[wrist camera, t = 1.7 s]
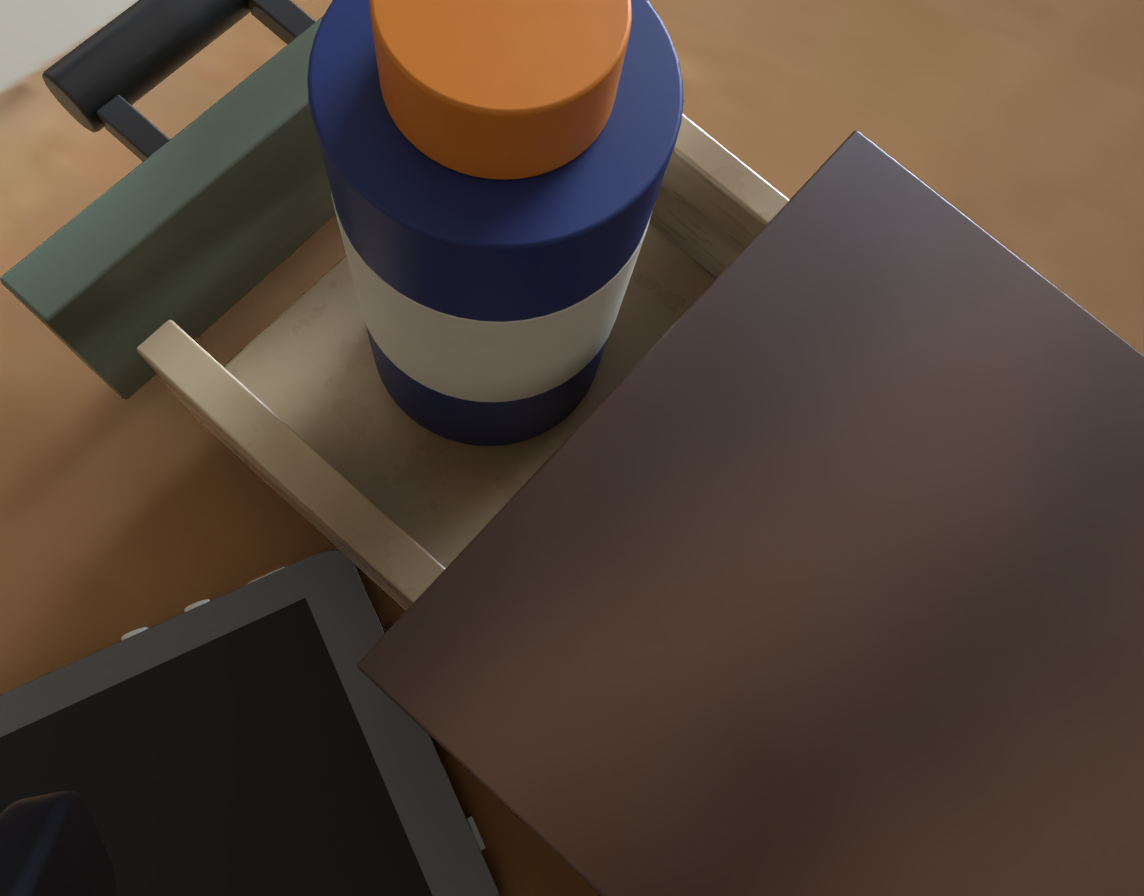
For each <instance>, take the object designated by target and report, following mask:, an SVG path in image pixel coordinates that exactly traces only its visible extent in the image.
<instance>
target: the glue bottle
mask: <svg viewBox="0 0 1144 896" xmlns="http://www.w3.org/2000/svg"><path fill="white" fill-rule="evenodd" d="M307 84H308V98H309V105H310V109H311V114H312V118H313V122H314V126H315V130H316V134H317V138H318V142H319V146H320V150H321V154H322V157H323V161H324V165H325V169H326V173H327V177H328V181H329V185H330V189H331V196H332V200H333V205H334V209H335V214H336V217H337V221H338V225H339V229H340V233H341V237H342V240H343V244H344V248H345V252H346V256H347V260H348V264H349V267H350V271H351V275H352V279H353V283H354V287H355V290H356V294H357V298H358V302H359V306H360V310H361V313H362V315H363V318H364V321H365V325H366V328H367V332H368V336H369V340H370V344H371V348H372V352H373V356H374V360H375V363H376V367H377V370H378V372H379V375H380V378H381V380H382V382H383V384H384V386H385V388H386V389H387V391H388V393H389V394H390V396H391V397H392V398H393V400H394V401H395V402H396V404H397V405H398V406H399V407H400V408H401V409H402V410H403V411H404V412H405V413H406V414H407V415H408V416H409V417H410V418H412V419H413V420H414V421H415V422H417V423H418V424H419V425H421V426H422V427H424V428H426V429H428V430H429V431H431V432H433V433H435V434H437V435H439V436H442V437H444V438H446V439H450V440H453V441H457V442H460V443H465V444H471V445H479V446H497V445H507V444H512V443H516V442H521V441H525V440H527V439H530V438H533V437H535V436H538V435H540V434H542V433H544V432H546V431H547V430H549V429H551V428H553V427H554V426H555V425H557V424H558V423H560V422H561V421H563V420H564V419H565V418H566V417H567V416H568V415H569V414H570V413H571V412H572V411H573V410H574V409H575V408H576V407H577V406H578V404H579V403H580V402H581V401H582V399H583V398H584V396H585V395H586V393H587V391H588V390H589V388H590V386H591V384H592V382H593V379H594V377H595V375H596V372H597V369H598V366H599V363H600V360H601V358H602V355H603V352H604V349H605V346H606V343H607V340H608V337H609V334H610V332H611V330H612V327H613V325H614V323H615V320H616V318H617V315H618V312H619V309H620V306H621V303H622V300H623V298H624V295H625V292H626V289H627V286H628V283H629V280H630V277H631V275H632V272H633V269H634V266H635V263H636V260H637V257H638V255H639V252H640V249H641V246H642V243H643V240H644V237H645V235H646V232H647V229H648V225H649V222H650V218H651V214H652V211H653V207H654V205H655V202H656V199H657V196H658V193H659V190H660V187H661V184H662V181H663V179H664V176H665V173H666V170H667V167H668V164H669V161H670V158H671V155H672V153H673V150H674V147H675V144H676V140H677V137H678V133H679V129H680V126H681V120H682V111H683V81H682V76H681V70H680V65H679V60H678V57H677V54H676V52H675V49H674V46H673V43H672V40H671V38H670V36H669V34H668V32H667V30H666V28H665V26H664V24H663V22H662V20H661V19H660V17H659V16H658V14H657V13H656V11H655V10H654V8H653V7H652V5H651V4H650V2H649V1H648V0H333V1H332V3H331V4H330V6H329V8H328V9H327V11H326V13H325V14H324V16H323V18H322V20H321V23H320V25H319V28H318V30H317V32H316V35H315V37H314V41H313V45H312V49H311V53H310V57H309V65H308V77H307Z"/></svg>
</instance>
